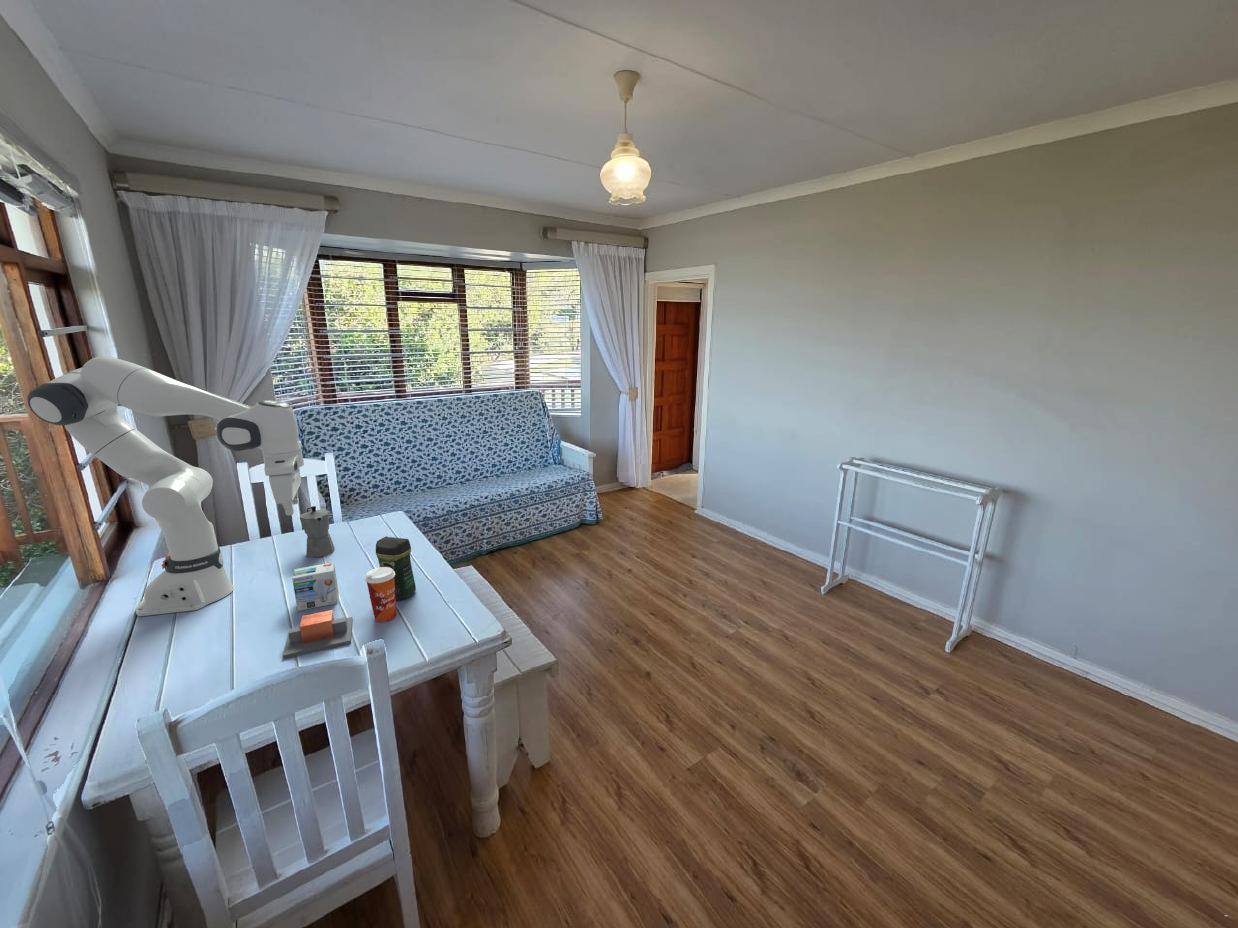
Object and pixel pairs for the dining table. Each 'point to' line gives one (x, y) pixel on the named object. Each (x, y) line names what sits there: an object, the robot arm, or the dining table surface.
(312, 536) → the coffeepot
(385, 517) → the dining table surface
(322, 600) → the light bulb box
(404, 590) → the coffee jar
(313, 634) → the block
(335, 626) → the stand
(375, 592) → the paper cup
